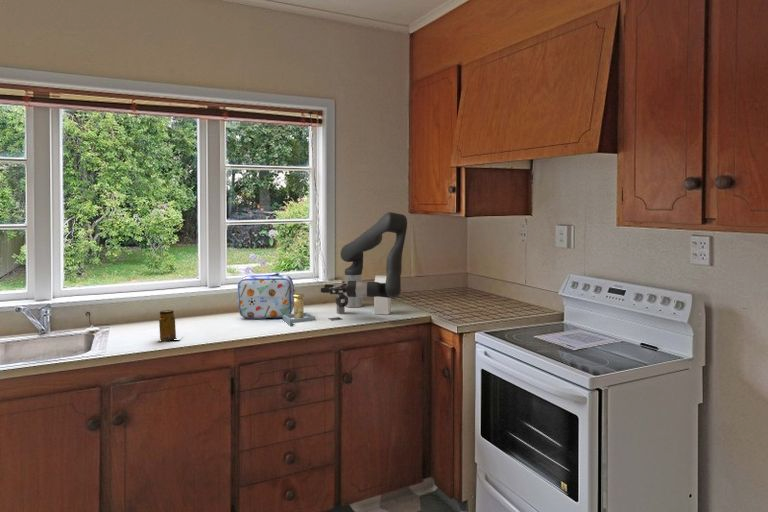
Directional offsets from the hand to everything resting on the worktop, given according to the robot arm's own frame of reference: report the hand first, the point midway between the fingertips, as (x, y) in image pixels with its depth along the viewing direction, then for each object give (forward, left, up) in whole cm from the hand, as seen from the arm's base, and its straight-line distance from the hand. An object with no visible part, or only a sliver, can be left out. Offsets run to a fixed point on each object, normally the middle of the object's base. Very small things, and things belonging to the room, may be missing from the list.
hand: (322, 288), depth 243 cm
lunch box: (-23, -20, -16) cm, 35 cm away
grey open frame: (-5, -10, -16) cm, 19 cm away
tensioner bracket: (-1, +8, -16) cm, 18 cm away
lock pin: (-5, -10, -15) cm, 19 cm away
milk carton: (-4, +33, -16) cm, 37 cm away
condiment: (0, -66, -16) cm, 68 cm away
